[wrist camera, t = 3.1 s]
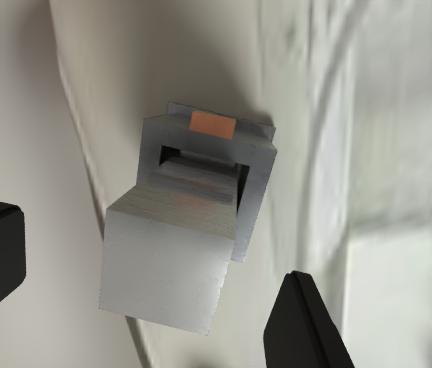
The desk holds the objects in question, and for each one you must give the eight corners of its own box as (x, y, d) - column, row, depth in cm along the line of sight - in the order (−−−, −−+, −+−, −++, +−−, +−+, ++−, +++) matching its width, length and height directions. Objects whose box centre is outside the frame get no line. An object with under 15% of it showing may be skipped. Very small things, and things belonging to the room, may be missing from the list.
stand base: (172, 98, 21) (133, 97, 13) (275, 123, 21) (296, 135, 13) (157, 197, 24) (118, 241, 16) (247, 219, 24) (250, 274, 16)
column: (190, 136, 21) (101, 200, 7) (240, 148, 20) (242, 234, 7) (181, 185, 22) (94, 312, 9) (228, 197, 22) (210, 342, 9)
